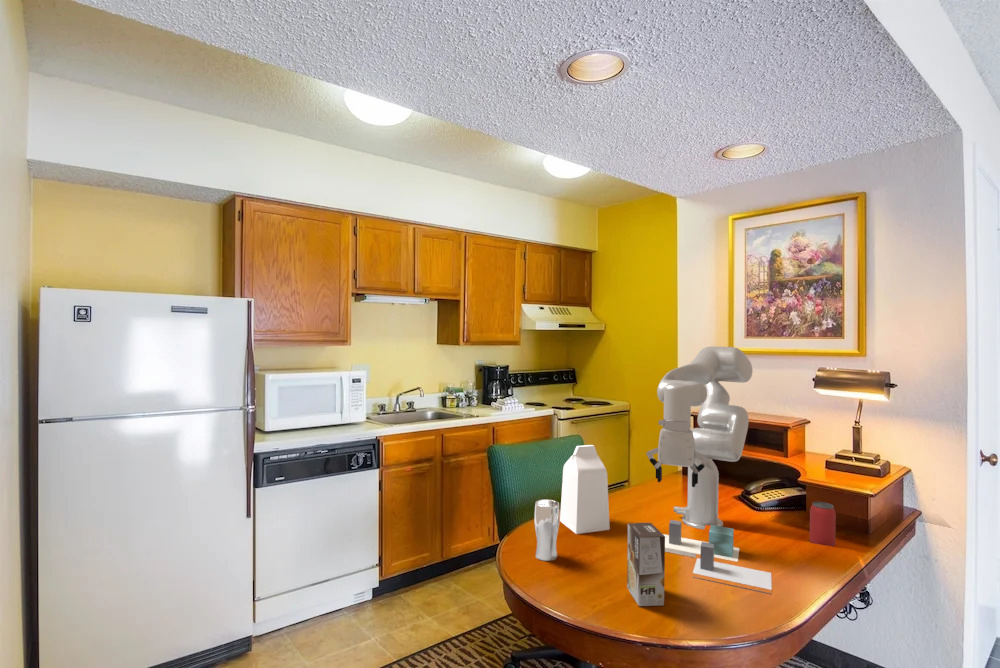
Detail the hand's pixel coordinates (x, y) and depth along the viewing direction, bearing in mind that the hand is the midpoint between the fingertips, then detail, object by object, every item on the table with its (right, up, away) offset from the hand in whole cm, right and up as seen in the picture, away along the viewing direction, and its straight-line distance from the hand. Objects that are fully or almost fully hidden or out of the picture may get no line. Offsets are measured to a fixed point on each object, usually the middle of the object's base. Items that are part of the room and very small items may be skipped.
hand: (676, 483), depth 152 cm
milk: (-24, -19, +17) cm, 35 cm away
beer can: (+46, -20, +4) cm, 50 cm away
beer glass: (-39, -19, -7) cm, 44 cm away
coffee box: (-17, -19, -29) cm, 39 cm away
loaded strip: (+5, -19, -3) cm, 19 cm away
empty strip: (+8, -19, -19) cm, 28 cm away
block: (+11, -18, -6) cm, 21 cm away
